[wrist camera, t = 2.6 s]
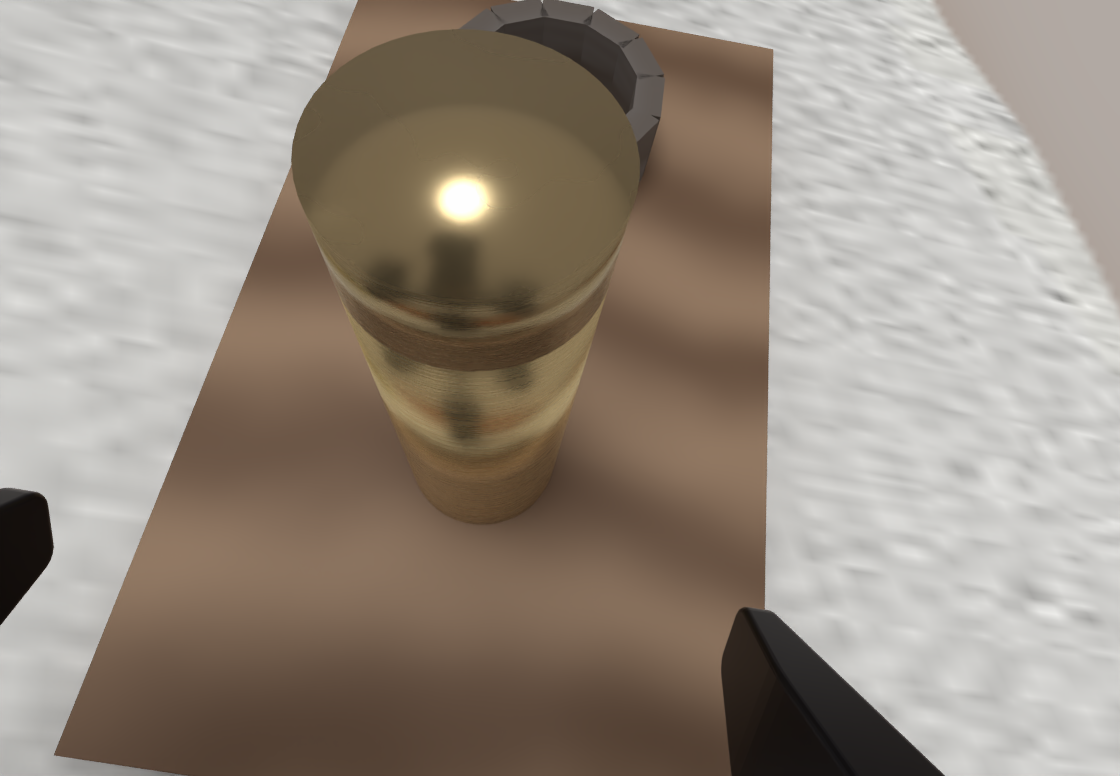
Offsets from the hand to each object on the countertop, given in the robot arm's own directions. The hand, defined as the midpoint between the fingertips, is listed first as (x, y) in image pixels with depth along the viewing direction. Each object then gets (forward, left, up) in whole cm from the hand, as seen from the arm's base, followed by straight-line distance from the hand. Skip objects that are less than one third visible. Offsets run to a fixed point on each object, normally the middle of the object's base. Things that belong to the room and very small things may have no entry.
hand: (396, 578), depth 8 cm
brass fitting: (+3, -4, -11) cm, 12 cm away
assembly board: (+6, -9, -12) cm, 16 cm away
